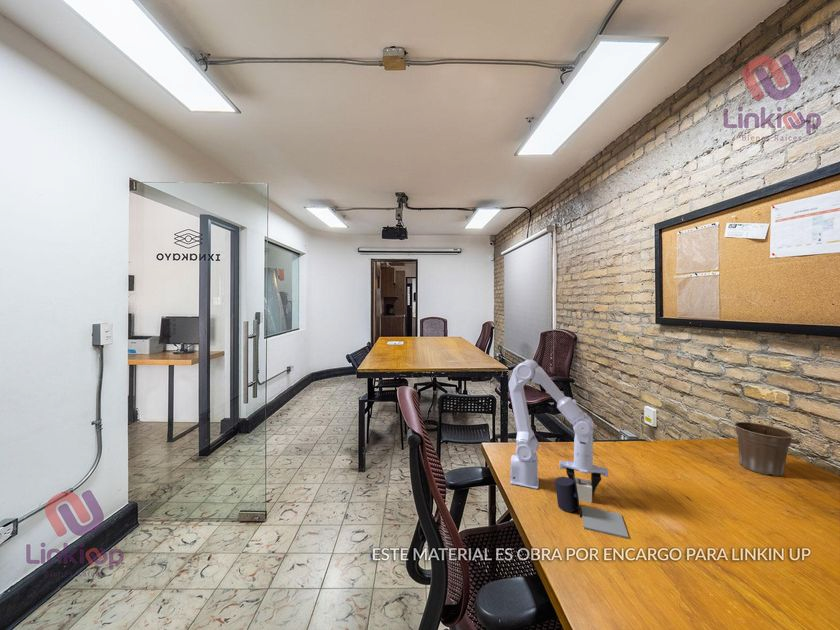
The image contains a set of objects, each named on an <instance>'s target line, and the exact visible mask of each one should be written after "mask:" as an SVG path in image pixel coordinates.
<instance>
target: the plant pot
mask: <svg viewBox="0 0 840 630" xmlns="http://www.w3.org/2000/svg"><path fill="white" fill-rule="evenodd" d="M734 427H735V430H736V431H735V433H736V436H737V445H738V455H739V456H738V459H739V460H738V461H739V465H741V466H742V467H743V468H745V469H747V470H748V471H751V472H754V473H757V474H761V475H765V476H769V475H771V476H773V477H781V476H784V473H785V467H786V462H787V458H788V457H787V456H788V451H789V448H790V446H791V444H792V443H791V442H792V439H793V438H794V436H795V435H794V434H793V433H791V432H790V431H787V430H785V429H781V428H779V427H775V426H772V425H767V424H761V423H755V422H748V421H747V422H744V421H739V422H738V421H737V422H734Z"/></svg>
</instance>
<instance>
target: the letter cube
mask: <svg viewBox="0 0 840 630" xmlns="http://www.w3.org/2000/svg"><path fill="white" fill-rule="evenodd" d="M575 480H576V485H577V492H578V499H579V502H580V501H581V502H586V503H590V504H591V503H593V496H592V485H591V480H590V479H587V478H586V479H584V478H579V477H575Z"/></svg>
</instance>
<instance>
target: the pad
mask: <svg viewBox="0 0 840 630" xmlns="http://www.w3.org/2000/svg"><path fill="white" fill-rule="evenodd" d="M580 512H581V518H582V523H583V529H585V530H589V531H593V532H598V533H602V534H605V535H610V534H611V536H614V535H615V537H618V536H620V537H619V538H623V537H624V538H623V539H627V538H629V539H630V537H629V534H628V533H629V532H628V531H627V527H626V525H625V523H624V518H623V517H622V513H619V512H613V511H609V510H608V511H607V510H604V509H598V508H594V507H590V506H585V505H580ZM625 537H626V538H625Z"/></svg>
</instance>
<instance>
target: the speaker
mask: <svg viewBox="0 0 840 630" xmlns="http://www.w3.org/2000/svg"><path fill="white" fill-rule="evenodd" d="M575 478H576V476H574V475H573V480H574V481H573V480H572V479H570V478H569V477H568V476H567V477H566V476H559V477H557V478H555V480H554V486H555V492H556V499H557V501H556V502H557V506H558V508H559V509H560V510H561V511H564V512H571V513H572V512H574V511H576V510H578V516H579V518H582V511H581V505H580V500H579V499H578V492H577V485H576V480H575Z"/></svg>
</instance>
